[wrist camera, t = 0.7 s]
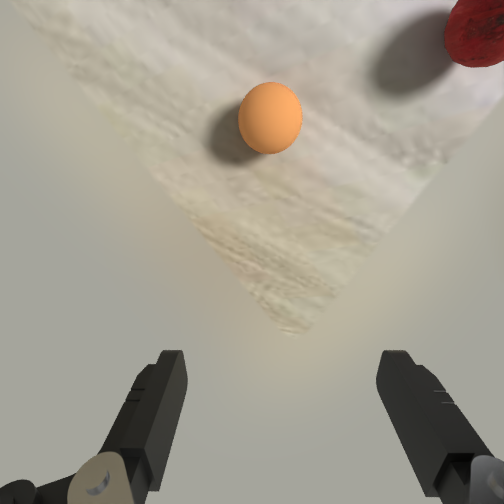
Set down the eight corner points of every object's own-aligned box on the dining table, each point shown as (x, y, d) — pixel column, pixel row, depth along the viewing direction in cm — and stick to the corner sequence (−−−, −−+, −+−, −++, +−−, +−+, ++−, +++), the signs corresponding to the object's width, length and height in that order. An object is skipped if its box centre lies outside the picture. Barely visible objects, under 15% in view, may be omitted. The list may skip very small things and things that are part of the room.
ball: (238, 87, 24) (233, 78, 19) (299, 85, 24) (309, 75, 19) (241, 151, 26) (237, 158, 21) (296, 150, 26) (305, 156, 21)
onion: (427, 86, 24) (500, 71, 16) (420, 8, 21) (502, -49, 14) (498, 56, 22) (610, 26, 15) (499, -29, 20) (632, -112, 13)
